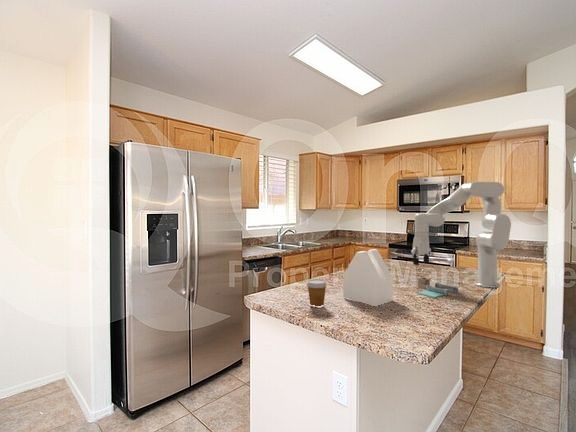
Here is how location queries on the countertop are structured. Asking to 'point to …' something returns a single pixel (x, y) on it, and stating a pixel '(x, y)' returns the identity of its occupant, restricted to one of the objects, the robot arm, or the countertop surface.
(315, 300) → the disposable coffee cup
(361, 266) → the milk carton
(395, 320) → the countertop surface
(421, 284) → the wooden knob block
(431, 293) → the pad
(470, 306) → the countertop surface
